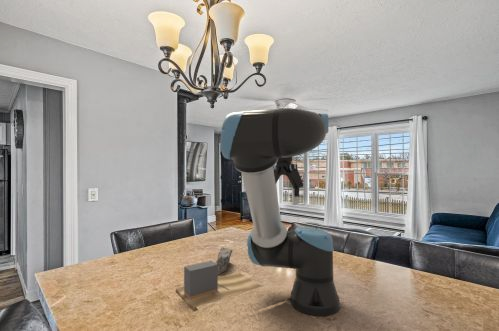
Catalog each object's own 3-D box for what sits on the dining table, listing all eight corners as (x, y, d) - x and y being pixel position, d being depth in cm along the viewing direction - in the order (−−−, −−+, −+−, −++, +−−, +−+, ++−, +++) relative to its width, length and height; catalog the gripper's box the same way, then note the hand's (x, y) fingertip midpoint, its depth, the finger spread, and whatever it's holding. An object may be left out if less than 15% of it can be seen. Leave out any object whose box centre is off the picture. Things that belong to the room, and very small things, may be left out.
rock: (223, 278, 102) (225, 251, 104) (204, 275, 104) (206, 249, 106) (235, 271, 117) (237, 247, 118) (218, 268, 119) (220, 245, 121)
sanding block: (210, 286, 93) (210, 260, 94) (217, 291, 89) (217, 264, 89) (184, 293, 88) (184, 266, 88) (189, 299, 83) (190, 271, 84)
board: (262, 288, 93) (262, 285, 93) (194, 310, 78) (194, 307, 78) (238, 274, 107) (238, 271, 107) (175, 291, 92) (175, 288, 92)
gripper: (312, 151, 102) (312, 205, 102) (271, 155, 123) (271, 200, 122) (298, 150, 98) (298, 207, 97) (258, 154, 118) (258, 201, 118)
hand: (283, 203), depth 110 cm, fingers open, 13 cm apart
